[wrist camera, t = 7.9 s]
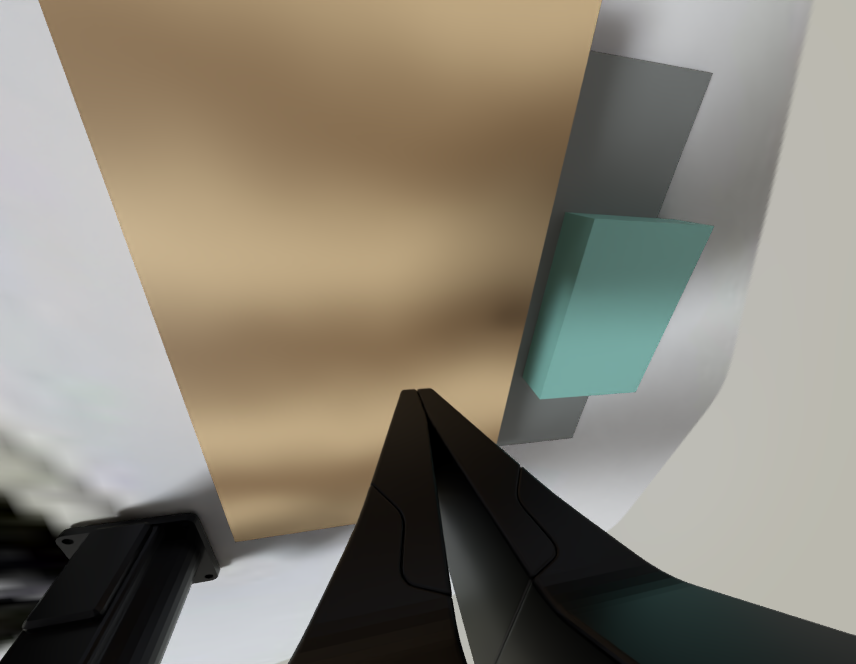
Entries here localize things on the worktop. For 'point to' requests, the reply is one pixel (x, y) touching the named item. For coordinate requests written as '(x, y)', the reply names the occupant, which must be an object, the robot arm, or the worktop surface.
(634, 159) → the mat
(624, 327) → the teal rectangular block
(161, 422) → the worktop surface
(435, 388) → the board
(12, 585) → the worktop surface
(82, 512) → the worktop surface
